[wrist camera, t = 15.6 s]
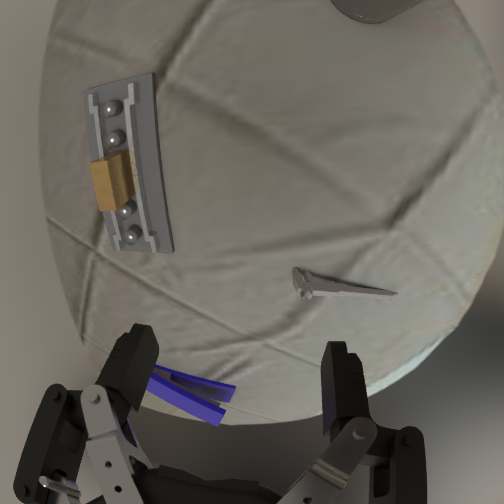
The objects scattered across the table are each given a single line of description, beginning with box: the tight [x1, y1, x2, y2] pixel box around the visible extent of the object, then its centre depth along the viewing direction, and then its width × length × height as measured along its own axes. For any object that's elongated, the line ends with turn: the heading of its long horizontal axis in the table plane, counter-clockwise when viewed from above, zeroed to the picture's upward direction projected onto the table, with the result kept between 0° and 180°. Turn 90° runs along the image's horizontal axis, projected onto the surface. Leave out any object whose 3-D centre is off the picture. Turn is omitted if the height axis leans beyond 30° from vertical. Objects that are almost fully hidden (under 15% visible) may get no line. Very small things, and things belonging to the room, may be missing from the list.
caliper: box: [293, 268, 398, 300], centre depth 42 cm, size 20×1×6 cm, turn 77°
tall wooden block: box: [90, 149, 136, 211], centre depth 34 cm, size 3×7×6 cm, turn 0°
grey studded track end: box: [111, 171, 160, 253], centre depth 39 cm, size 13×8×3 cm, turn 0°
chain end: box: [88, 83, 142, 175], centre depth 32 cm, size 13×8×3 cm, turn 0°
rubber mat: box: [83, 73, 174, 253], centre depth 37 cm, size 28×12×1 cm, turn 0°
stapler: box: [146, 365, 236, 426], centre depth 65 cm, size 12×28×10 cm, turn 77°
